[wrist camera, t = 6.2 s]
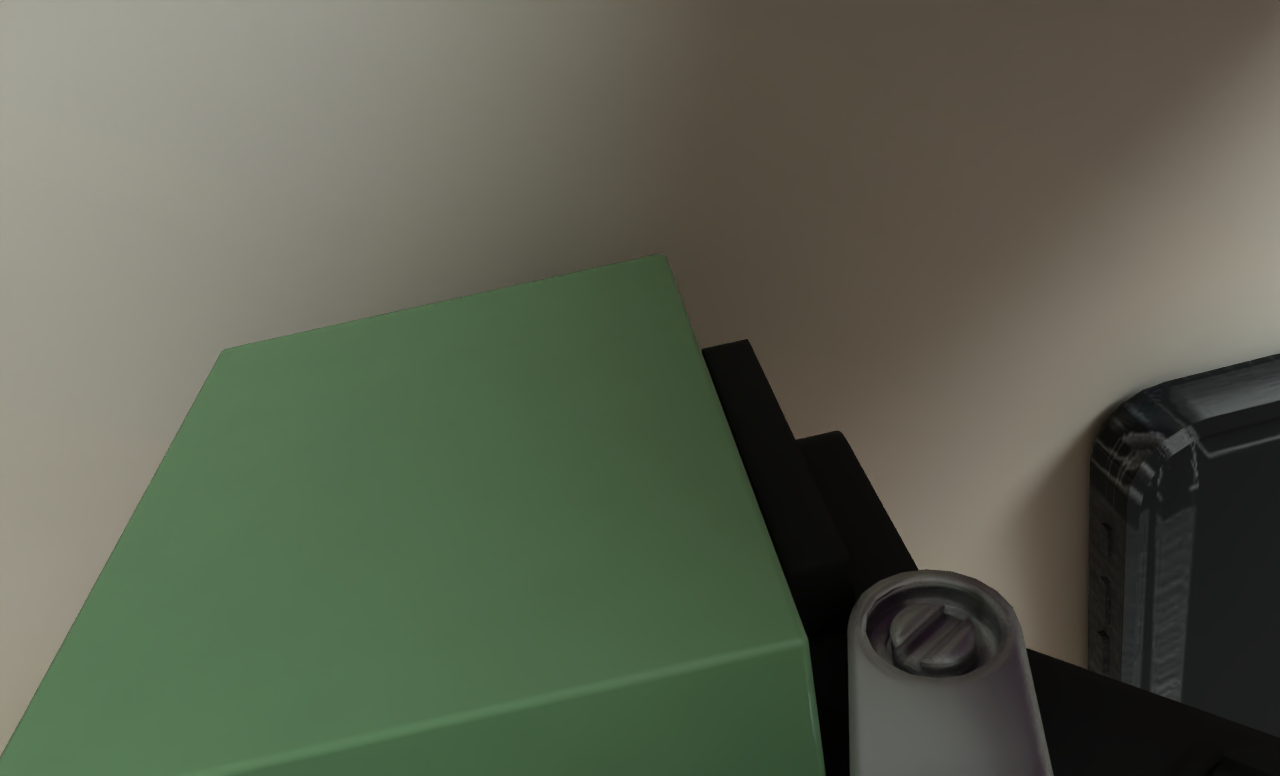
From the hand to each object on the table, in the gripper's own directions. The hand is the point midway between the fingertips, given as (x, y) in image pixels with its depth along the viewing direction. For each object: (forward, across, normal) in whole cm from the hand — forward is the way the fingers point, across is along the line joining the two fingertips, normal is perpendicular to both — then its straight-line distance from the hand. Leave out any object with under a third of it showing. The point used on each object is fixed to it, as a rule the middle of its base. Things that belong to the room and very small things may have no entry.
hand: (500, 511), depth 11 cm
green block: (+1, 0, 0) cm, 1 cm away
